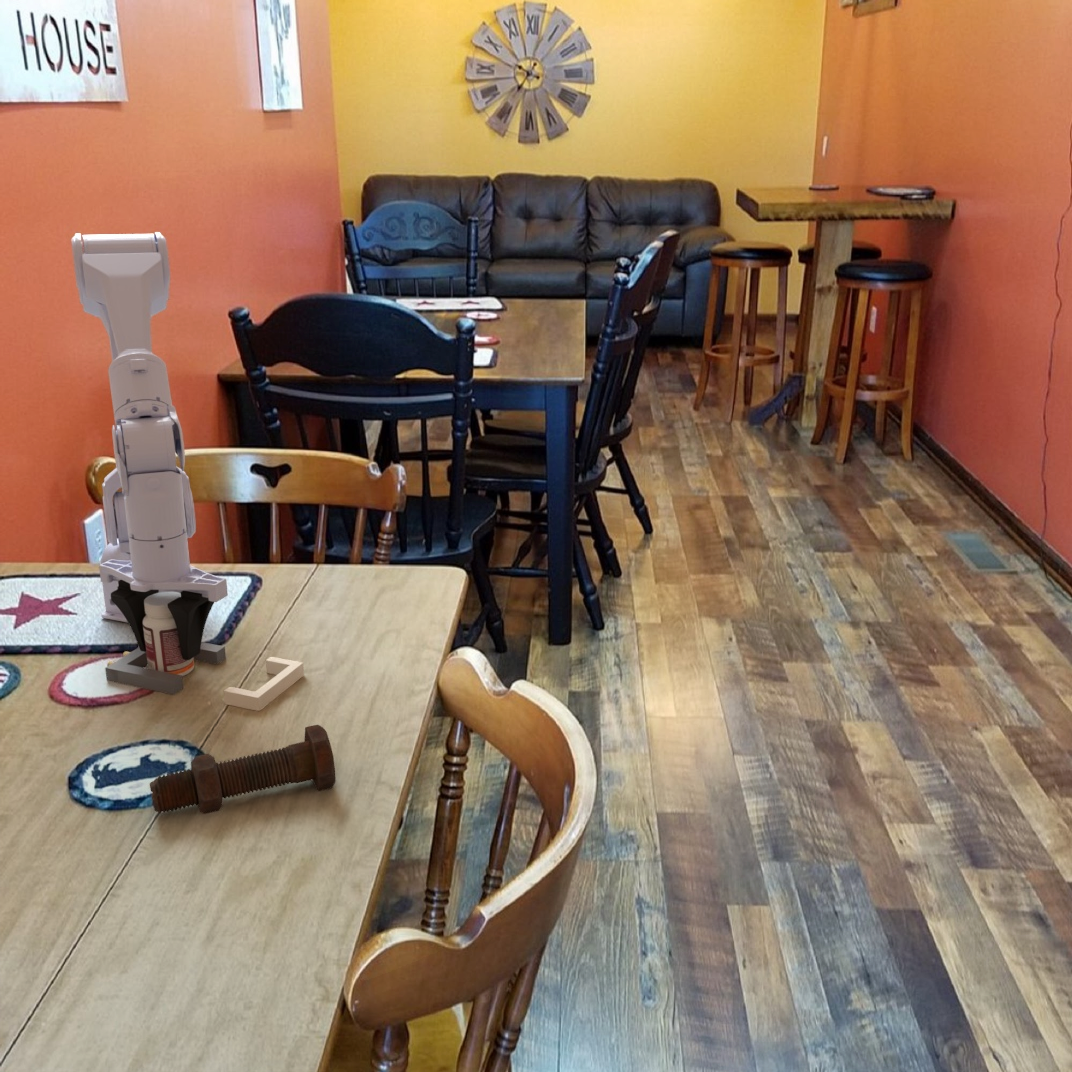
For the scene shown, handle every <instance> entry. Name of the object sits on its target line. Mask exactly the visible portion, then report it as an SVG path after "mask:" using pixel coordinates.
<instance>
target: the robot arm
mask: <svg viewBox="0 0 1072 1072" xmlns="http://www.w3.org/2000/svg"><path fill="white" fill-rule="evenodd" d="M70 241H71V243H70V244H71V249H72V258H73V266H74V275H75V283H76V289H78V290H77V291H78V296H79V303H80V304H81V305H82V308H83V309H82V310H83V312H84V313H86V314H89V315H91V316H93V317H97V318H99V319H100V320H101V323H102V325H103V327H104V329H105V331H106V333H107V336H108V339H109V347H110V355H111V363H110V364H109V366H108V379H109V387H110V388H109V389H110V393H111V396H110V397H111V403H112V404H111V405H112V410H113V418H114V424H113V425H112V426H111V434H112V435H111V436H112V442H113V443H112V445H113V453H114V460H115V468H114V469H113V470H112V471H111V472H109V473H108V474H107V475H106V476H105V477H104V479H103V481H104V482H103V483H102V484H101V487H102V495H103V496H102V503H103V505H102V506H103V511H104V520H105V527H106V528H105V529H106V537H107V542H108V544H107V545H106V547H105V548H104V549H103V551H102V555H101V558H100V564H99V565H98V568H99V577H100V582H101V585H102V591H103V598H104V599H103V600H104V607H105V611H103V612H102V613H101V616H100V617H101V618H103V619H106V620H107V619H108V620H113V621H117V622H123V623H128V625H129V627H130V628H131V631H132V634H133V636H134V638H135V640H136V643H137V645H139V647H138V648H140V650H141V651H144V652H146V645H145V638H144V630H143V619H144V617H145V616H146V613H145V607H144V600H145V598H147V597H148V596H150V595H152V594H155V593H160V592H178V593H181V597H178V598H177V599H175V600H173V601H171V602H170V603H168V604H167V605H168V609H169V610H170V612H171V614H172V616H173V619H174V621H175V624H176V627H177V631H178V636H179V643H180V650H181V654H182V657H183V659H184V660H190V659H192V658H193V657H195V656H196V655H198V654H199V653H200V648H201V642H203V641H202V640H203V635H204V630H205V627H206V623H207V620H208V617H209V615H210V612H211V610H212V608H213V605H214V604H215V603H218V602H219V601H221V600H223V599H225V598H226V597H228V585H227V584H228V582H227V578H225V577H220V576H217V575H214V574H211V573H209V572H207V571H204V570H202V569H199V568H197V567H195V566H193V565H191V564H190V553H189V543H188V538H189V539H191V538H192V537H193V535H194V534H196V531H197V529H196V528H197V525H196V524H197V523H196V511H195V504H194V498H193V492H192V489H191V485H190V479H189V478H190V477H189V476H188V475H187V473H186V472H185V471H184V469H185V464H186V463H185V462H186V455H185V453H186V451H185V443H184V441H185V440H184V433H183V429H182V425H181V422H180V420H179V417H178V414H177V410H176V406H175V405H173V401H172V394H171V388H170V382H169V376H168V369H167V365H166V362H165V361H164V360H163V359H162V358H161V357H160V356H158V355H156V354H154V353H153V348H152V346H153V345H152V328H151V327H152V326H151V322H152V317H153V316H155V315H157V314H159V313H160V312H163V311H164V310H166V309H167V308H168V306H167V304H168V301H169V300H170V299H169V298H170V285H171V268H170V257H169V251H168V249H169V248H168V243H167V239H166V237H165V236H164V235H163V234H162V233H161V232H160V231H155V232H154V233H133V234H132V233H126V234H125V233H123V234H121V233H119V234H115V233H114V234H83V235H82V234H81V233H75V234H74V236H72V238H71V240H70ZM176 455H177V457H178V458H179V460H178V461H179V464H180V467H178V466H177V457H176ZM118 490H121V491H118Z"/></svg>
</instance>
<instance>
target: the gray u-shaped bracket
mask: <svg viewBox="0 0 1072 1072" xmlns="http://www.w3.org/2000/svg"><path fill="white" fill-rule="evenodd" d="M137 645H138V644H137ZM226 655H227V654H226V646H223V645H219V644H213V643H209V642H204V641H201V648H200V653H199V654H198V655H196V656H195V657H194V661H199V662H203V663H209V664H212V665H213V664H214V665H219V664H221V663H222V662H224V661H225V660H226V659H227V656H226ZM146 666H148V663H147V654H146V652H144V651H141V650H140V648H139V645H138V647H137V648H135V649H134V650H132V651H128V650H127V651H124V652H123V654H122V657H120V658H119V659H117V660H116V661H113V660H108V662H107V666H106V667H105V668H104V670H105V677H106V681H107V682H113V683H117V684H121V685H125V686H126V685H127V686H130V687H134V688H135V687H136V688H140V689H144V690H149V691H155V692H160V693H164V694H168V695H173V696H174V695H176V694H177V693H179V692H181V690H183V689H184V683H183V682H184V681H183V676H182V675H177V674H172V673H167V672H162V671H157V670H152V669H148V667H147V668H146Z"/></svg>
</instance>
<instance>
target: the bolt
mask: <svg viewBox="0 0 1072 1072" xmlns="http://www.w3.org/2000/svg"><path fill="white" fill-rule="evenodd" d="M334 759H335V758H334V753H333V750H332V745H331V742H330V738H329V735H328V733H327V731H326V729H325V728H324V727H323V726H321V725H320V724H314V725H308V726H305V728H304V741H301V742H298V743H296V742H295V743H292V744H288V745H287V746H285V747H282V748H278V749H274V750H272V749H271V750H270V751H269V750H267V751H263V752H257V753H255V754H251V755H247V757H246V755H244V756H243V757H242V756H241V757H239V758H237V757H236V758H235V759H233V758H232V759H231V760H229V759H227V761H226V760H224V761H223V762H222V761H219V763H218V762H217V761H216V759H215V757H214V756H213V755H212V754H211V753H205V754H200V755H195V756H194V757H193V759H192V760H191V762H190V768H191V769H189V768H187V770H186V769H184V770H183V771H182V770H179V772H178V771H175V772H174V773H173V772H170V774H169V773H166V774H163V775H158V777H156V778H155V779H154V780H152V781H150V782H149V789H150V792H151V794H150V797H151V801H152V806H153V809H154V811H155V812H156V813H159V814H161V813H163V814H165V813H166V812H167V813H169V812H170V811H171V812H173V811H174V810H175V811H177V810H178V809H179V810H180V811H181V809H182V808H183V809H185V808H188V809H189V808H190V806H191V807H194V806H197V807H198V810H199V813H202V814H204V815H206V814H210V813H215V812H218V811H220V810H221V809H222V808H223V806H224V804H223V803H224V802H223V801H224V800H226V798H228V799H230V797H232V798H234V797H235V796H236V797H238V796H239V795H240V796H242V795H243V794H244V795H246V794H251V793H252V794H253V793H254V791H255V792H257V793H258V791H262V789H263V790H264V791H265V790H266V789H268V790H269V789H270V788H272V789H273V788H274V787H276V788H277V787H278V786H279V787H282V785H283V786H285V785H286V784H287V785H290V784H301V783H304V782H308V781H312V782H313V784H314V787H315V789H316V791H317V792H321V791H327V790H331V789H332V788H333V787H334V786H335V783H336V781H337V779H336V768H335V767H336V765H335V760H334Z"/></svg>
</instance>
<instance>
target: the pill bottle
mask: <svg viewBox="0 0 1072 1072" xmlns="http://www.w3.org/2000/svg"><path fill="white" fill-rule="evenodd" d="M178 597H181V593H178V592H160V593H155V594H152V595H150V596H148V597H147V598H145V600H144V607H145V613H146V616H145V617H144V619H143V630H144V638H145V645H146V654H147V663H148V665H147V668H148V669H152V670H157V671H162V672H167V673H172V674H177V675H182V677H183V676H187V675H188V674H190V673H191V672H192V671H193V670H194V669H195V660H194V657H193V658H192V659H190V660H184V659H183V657H182V654H181V650H180V643H179V636H178V631H177V627H176V624H175V621H174V619H173V616H172V614H171V612H170V610H169V609H168V605H167V604H168V603H170V602H171V601H173V600H175V599H177V598H178Z"/></svg>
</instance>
